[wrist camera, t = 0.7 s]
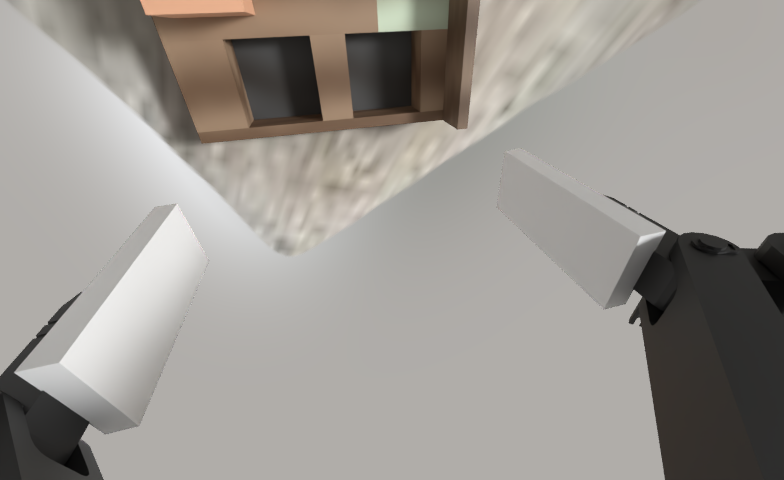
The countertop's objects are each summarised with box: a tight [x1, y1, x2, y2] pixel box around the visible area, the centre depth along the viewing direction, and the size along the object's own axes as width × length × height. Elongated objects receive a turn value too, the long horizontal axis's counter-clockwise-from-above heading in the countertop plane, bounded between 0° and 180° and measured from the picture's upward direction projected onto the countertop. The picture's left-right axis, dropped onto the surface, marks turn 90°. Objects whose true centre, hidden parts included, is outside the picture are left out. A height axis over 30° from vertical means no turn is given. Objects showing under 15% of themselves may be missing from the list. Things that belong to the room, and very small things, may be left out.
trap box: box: [152, 0, 480, 143], centre depth 26 cm, size 16×25×8 cm, turn 93°
